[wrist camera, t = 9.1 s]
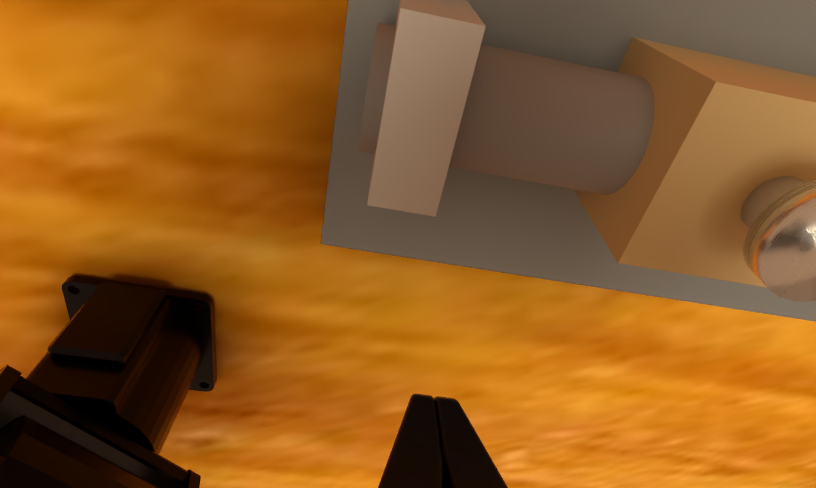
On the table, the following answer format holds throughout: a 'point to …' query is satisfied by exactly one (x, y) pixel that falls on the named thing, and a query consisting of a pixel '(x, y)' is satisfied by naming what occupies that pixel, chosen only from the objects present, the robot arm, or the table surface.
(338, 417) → the table surface
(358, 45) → the valve board
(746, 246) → the lever
